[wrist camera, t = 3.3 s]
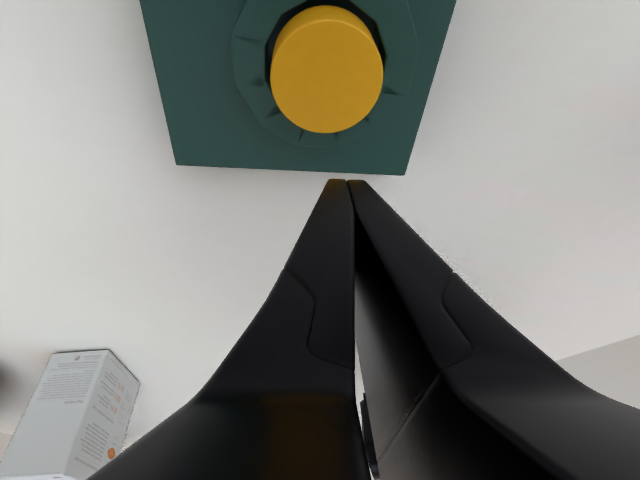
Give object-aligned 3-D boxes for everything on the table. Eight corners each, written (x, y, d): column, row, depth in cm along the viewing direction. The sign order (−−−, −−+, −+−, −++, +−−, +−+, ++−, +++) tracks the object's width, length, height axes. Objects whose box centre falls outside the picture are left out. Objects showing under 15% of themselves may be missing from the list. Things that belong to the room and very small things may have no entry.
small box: (51, 351, 36) (-13, 479, 28) (110, 347, 36) (61, 474, 28) (91, 386, 41) (46, 500, 34) (142, 383, 41) (108, 496, 34)
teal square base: (397, 154, 22) (412, 197, 19) (184, 143, 20) (167, 187, 18) (451, -50, 15) (487, -30, 12) (141, -82, 14) (101, -69, 11)
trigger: (366, 115, 16) (372, 136, 15) (272, 110, 16) (270, 131, 14) (385, 9, 13) (395, 24, 12) (272, -1, 13) (269, 13, 12)
